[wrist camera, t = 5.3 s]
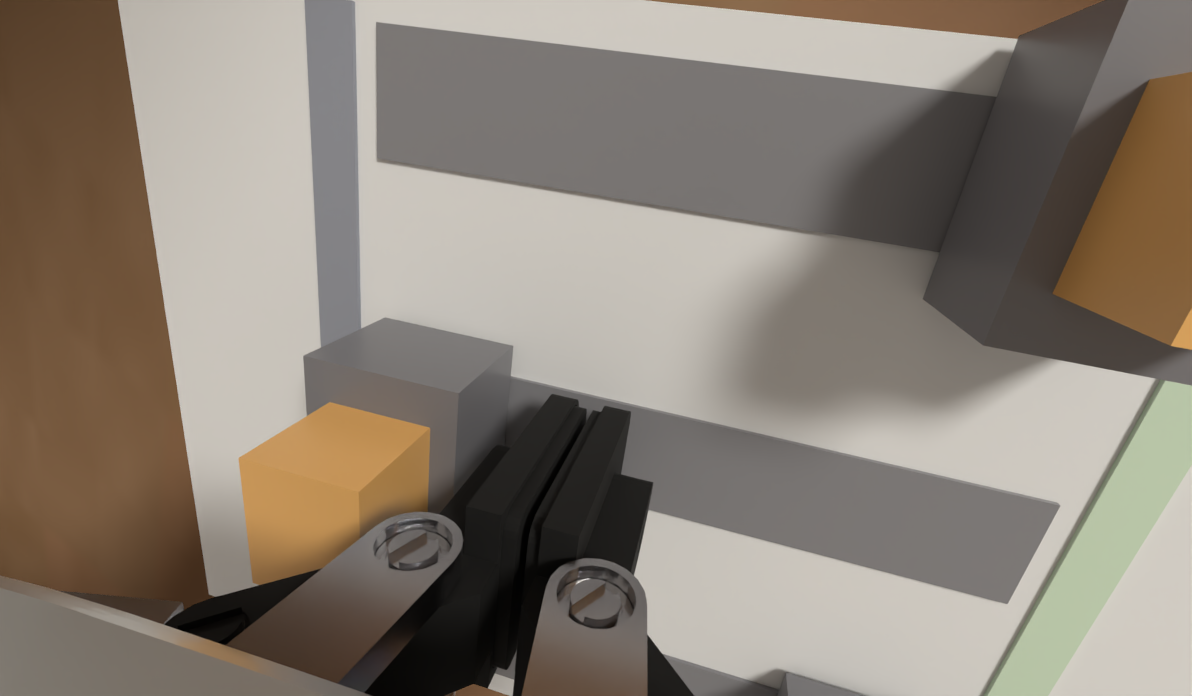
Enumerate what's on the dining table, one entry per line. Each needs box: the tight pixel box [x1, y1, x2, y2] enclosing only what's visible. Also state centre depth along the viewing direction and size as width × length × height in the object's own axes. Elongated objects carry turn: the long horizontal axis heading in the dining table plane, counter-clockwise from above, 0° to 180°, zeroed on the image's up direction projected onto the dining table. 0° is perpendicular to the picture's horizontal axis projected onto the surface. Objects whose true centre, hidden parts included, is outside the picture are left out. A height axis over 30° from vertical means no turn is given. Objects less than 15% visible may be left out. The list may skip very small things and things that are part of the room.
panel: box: [118, 0, 1192, 696], centre depth 13 cm, size 17×26×2 cm, turn 82°
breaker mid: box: [238, 317, 513, 585], centre depth 10 cm, size 4×3×4 cm
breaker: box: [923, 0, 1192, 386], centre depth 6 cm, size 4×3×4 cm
